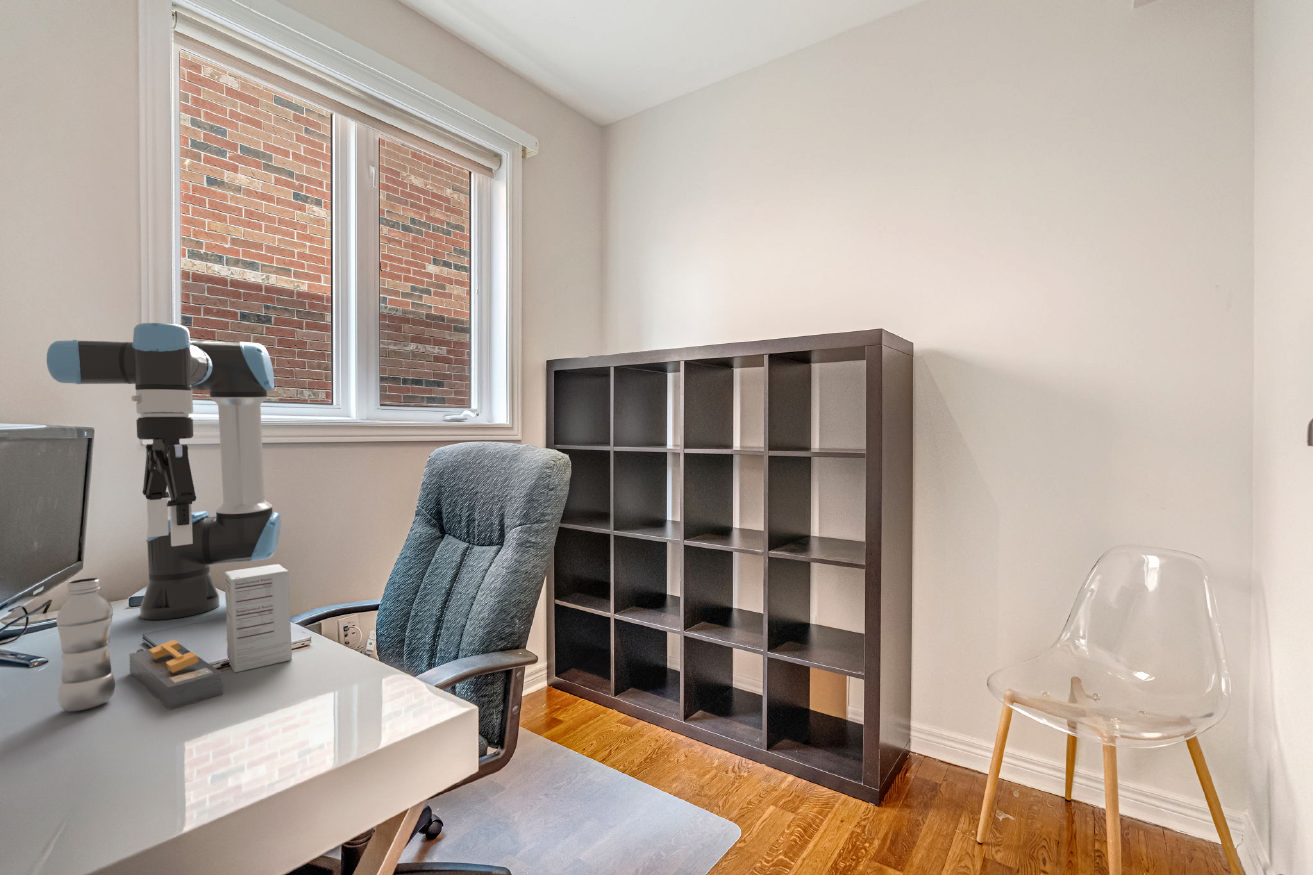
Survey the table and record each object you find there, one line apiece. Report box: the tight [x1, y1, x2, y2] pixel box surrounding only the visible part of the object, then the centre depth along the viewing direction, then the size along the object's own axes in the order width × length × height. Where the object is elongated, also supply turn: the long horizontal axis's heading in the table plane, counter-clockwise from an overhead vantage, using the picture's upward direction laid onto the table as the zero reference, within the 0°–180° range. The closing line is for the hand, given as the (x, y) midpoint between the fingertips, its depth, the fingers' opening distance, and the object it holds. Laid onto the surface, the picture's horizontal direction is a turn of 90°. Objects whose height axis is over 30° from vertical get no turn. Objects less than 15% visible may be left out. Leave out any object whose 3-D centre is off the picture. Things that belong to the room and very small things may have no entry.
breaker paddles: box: [149, 639, 199, 673], centre depth 106 cm, size 13×4×2 cm, turn 52°
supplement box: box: [224, 563, 293, 673], centre depth 116 cm, size 10×9×17 cm
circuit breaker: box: [128, 643, 224, 711], centre depth 109 cm, size 34×7×4 cm, turn 52°
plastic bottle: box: [55, 577, 116, 712], centre depth 97 cm, size 6×7×20 cm
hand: (169, 540), depth 105 cm, fingers open, 13 cm apart
